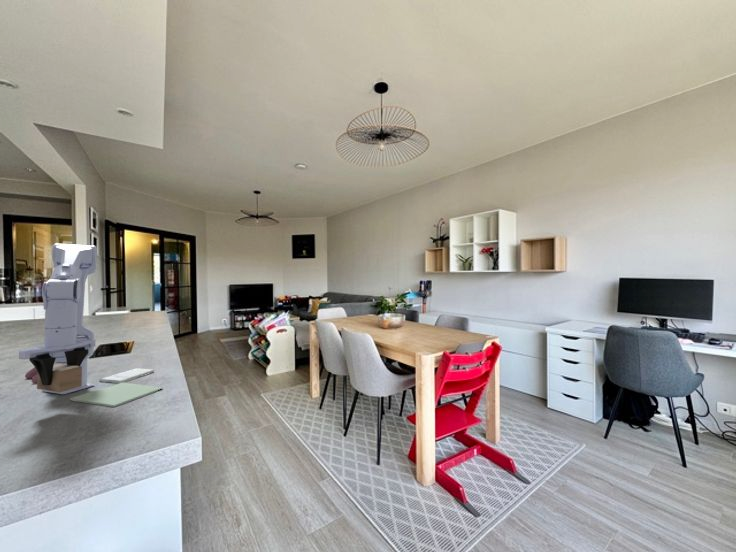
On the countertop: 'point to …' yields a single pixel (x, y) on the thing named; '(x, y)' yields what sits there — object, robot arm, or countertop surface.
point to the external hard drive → (126, 375)
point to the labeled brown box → (63, 378)
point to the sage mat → (116, 394)
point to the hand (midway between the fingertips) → (59, 381)
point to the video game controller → (32, 375)
